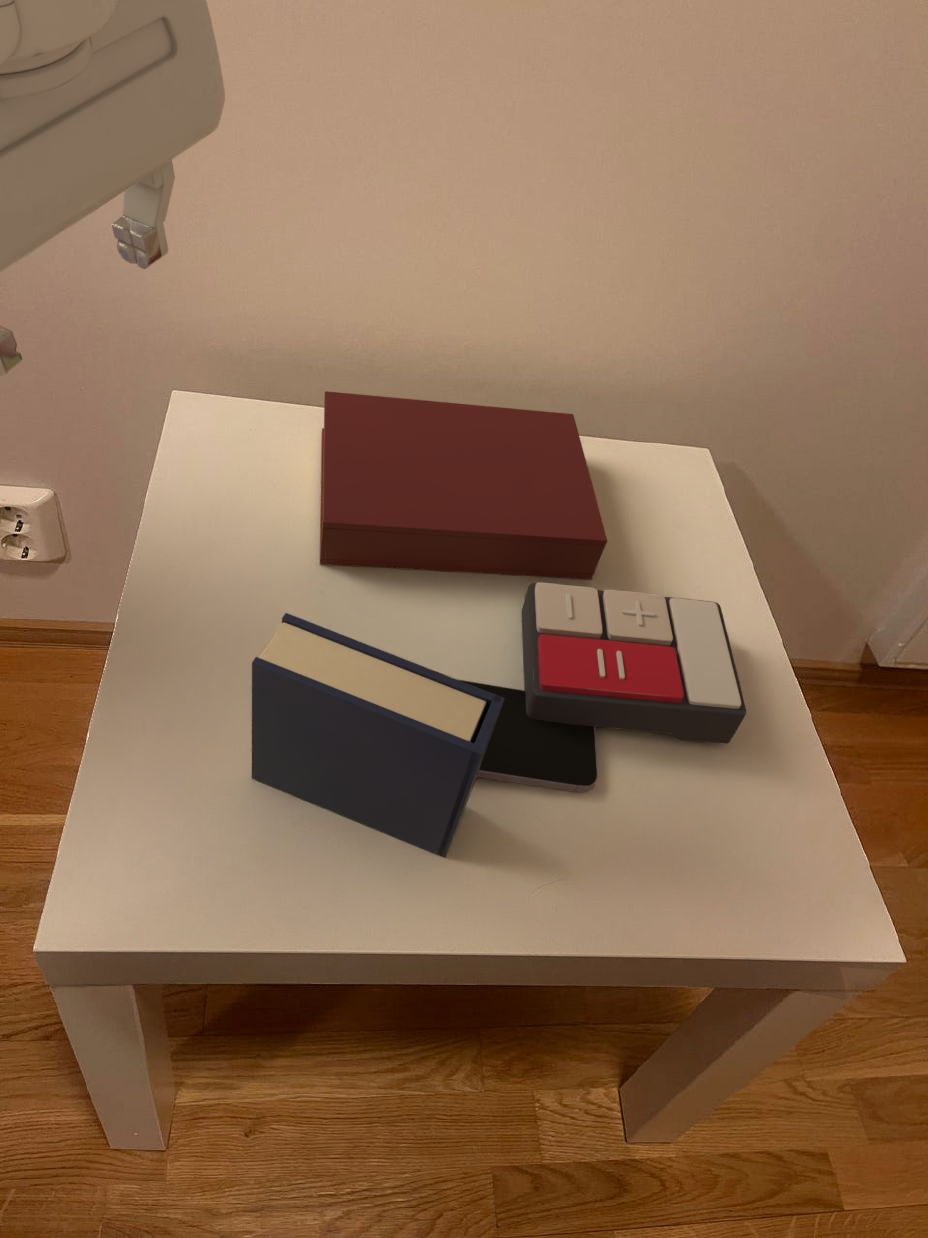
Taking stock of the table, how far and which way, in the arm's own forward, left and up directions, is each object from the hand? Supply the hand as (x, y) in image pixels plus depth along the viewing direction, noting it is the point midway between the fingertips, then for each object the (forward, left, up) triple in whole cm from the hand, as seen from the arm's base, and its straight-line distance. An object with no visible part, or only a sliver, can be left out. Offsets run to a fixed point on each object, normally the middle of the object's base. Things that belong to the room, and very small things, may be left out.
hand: (75, 309), depth 40 cm
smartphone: (+15, +19, -27) cm, 36 cm away
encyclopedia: (-6, +29, -27) cm, 40 cm away
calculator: (+15, +31, -27) cm, 44 cm away
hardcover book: (+15, +9, -27) cm, 32 cm away
